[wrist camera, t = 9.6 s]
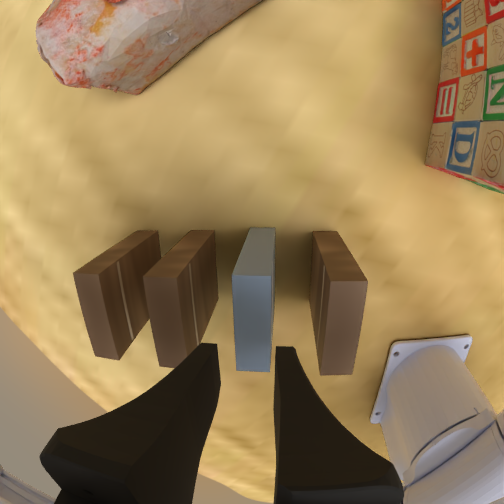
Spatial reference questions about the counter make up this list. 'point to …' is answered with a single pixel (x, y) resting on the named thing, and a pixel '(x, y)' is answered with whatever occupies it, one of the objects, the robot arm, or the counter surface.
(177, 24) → the food item
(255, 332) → the placed domino
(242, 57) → the counter surface
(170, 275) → the domino
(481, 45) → the stack of blocks
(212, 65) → the counter surface
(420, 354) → the robot arm
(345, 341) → the domino
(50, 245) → the counter surface
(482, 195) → the counter surface
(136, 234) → the domino
